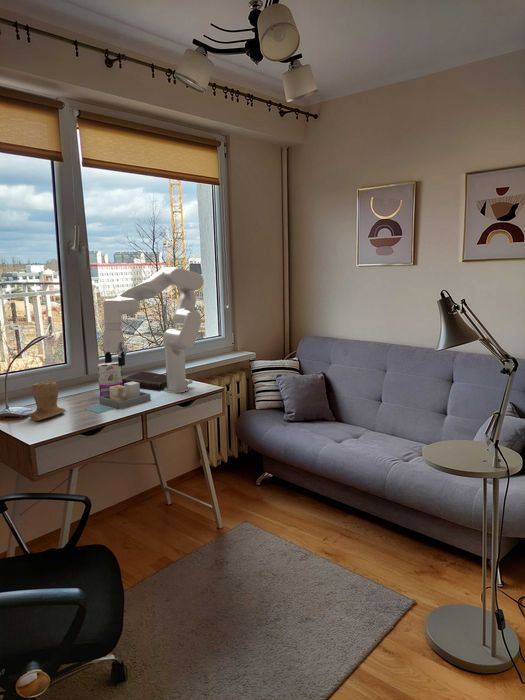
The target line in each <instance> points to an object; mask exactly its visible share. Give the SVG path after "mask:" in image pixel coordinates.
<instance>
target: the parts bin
mask: <svg viewBox="0 0 525 700" xmlns="http://www.w3.org/2000/svg"><path fill="white" fill-rule="evenodd" d="M151 400H152V397H151V393H148V392H146V391H145V392H144V391H141V390H140V396H139V397H136V398H132V399H128V400H125V401H121V402H118V401H114V400H111V399H110V395H106V396H102V397H100V396H99V405H103V406H107V407H110V408H113V409H116V410H122V409H125V408H128V407H133V406H135V405H140V404H142V403H145V402H149V401H151Z"/></svg>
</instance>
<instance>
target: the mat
mask: <svg viewBox="0 0 525 700" xmlns="http://www.w3.org/2000/svg"><path fill="white" fill-rule="evenodd" d="M84 410H86V411H89V412H93V413H95V414H97V415H98V414H102V413H105V412H108V411H112V410H114V408H113V407H110V406H107V405H103V404H98V405H95V406H91V407H88V408H84Z"/></svg>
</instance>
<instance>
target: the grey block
mask: <svg viewBox="0 0 525 700" xmlns="http://www.w3.org/2000/svg"><path fill="white" fill-rule="evenodd" d="M124 386H125V390H126V400H128V399H132V398H136V397H139V396H140V391H141V388H140V386H139V383H137V382H133V381H132V382H128V383H124Z"/></svg>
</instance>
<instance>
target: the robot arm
mask: <svg viewBox="0 0 525 700" xmlns="http://www.w3.org/2000/svg"><path fill="white" fill-rule="evenodd" d="M204 280H205V279H204V278H203V276H202V275H201V274H200V273H199V272H195V271H191V270H187V269H184V268H180V267H172V266H171V267H168V266H167V267H164V268H161V269H160V270H158V271H157V272H155V273H154V274H153V275H152V276H150V277H149V278H147V279H146V280H145V281H143V282H141V283H139V284H137V285H134V286H132V287H130V288H127V289H126V290H125V291H123V292H122V293H120V294H119V295H117V297H115V298H106V299H104V300H103V302H102V304H103V305H102V307H103V322H104V323H103V325H104V327H103V328H104V329H103V333H102V344H101V348H102V351H103V355H104V363H111V362H113V359H112V353H113V354H117V356H118V357H117V362H118V366H122V367H124V366H126V355H127V351H128V348H127V346H126V345H125V340H124V332H123V320H122V315H128V316H131V315H135V314H136V313H138V312H139V311H140V307H141V305H140V302H141V301H144V300H148V299H152V298H155V297H157V296H159V294H161V293H163V291H165V290H166V289H168V288H169V287H171V286H176V288H177V290H178V293H179V297H178V300H177V301H178V302H177V305H176V307H175V309H174V313H173V316H172V323H173V325H174V326H176V327H178V328H176V327H175V328H168V329H167V330H165V331H164V333H163V335H162V342H163V343H162V344H163V348H164V354H165V371H166V372H165V375H166V378H167V387H165V388H164V389H163V391H164V392H165V393H169V394H170V393H172V394H182V392H183V393H185V391H186V392H188V391H189V390H190V387H189V386H188V385H190V384H191V385H192V384H193V382H194V381H193V380H192V379H188V380H187V379H186V354H185V351H186V350H187V351H188V350H190V349H191V348H192V347H194V346H193V345H194V344H195V342H196V339H197V337H198V335H199V331H200V328H201V325H202V316H201V313H200V312H199V311H198V310H196V309H195V306H196V302H197V296H196V292H195V291H198V290H201V289H202V288H203V286H204V282H205V281H204ZM184 350H185V351H184Z"/></svg>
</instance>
